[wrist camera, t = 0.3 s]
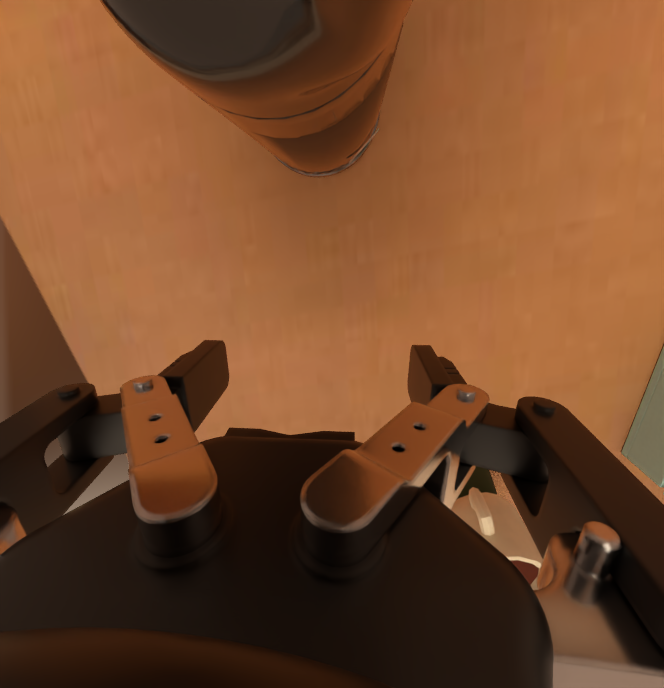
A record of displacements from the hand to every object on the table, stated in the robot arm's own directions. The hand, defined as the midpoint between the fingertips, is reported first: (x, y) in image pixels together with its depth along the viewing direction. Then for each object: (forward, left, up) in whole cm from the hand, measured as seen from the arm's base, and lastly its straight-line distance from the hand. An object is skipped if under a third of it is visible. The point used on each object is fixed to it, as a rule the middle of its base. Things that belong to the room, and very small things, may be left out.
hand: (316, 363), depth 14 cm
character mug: (+20, +14, -18) cm, 30 cm away
